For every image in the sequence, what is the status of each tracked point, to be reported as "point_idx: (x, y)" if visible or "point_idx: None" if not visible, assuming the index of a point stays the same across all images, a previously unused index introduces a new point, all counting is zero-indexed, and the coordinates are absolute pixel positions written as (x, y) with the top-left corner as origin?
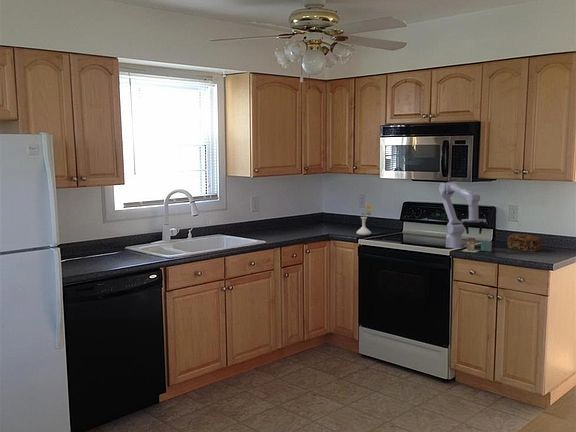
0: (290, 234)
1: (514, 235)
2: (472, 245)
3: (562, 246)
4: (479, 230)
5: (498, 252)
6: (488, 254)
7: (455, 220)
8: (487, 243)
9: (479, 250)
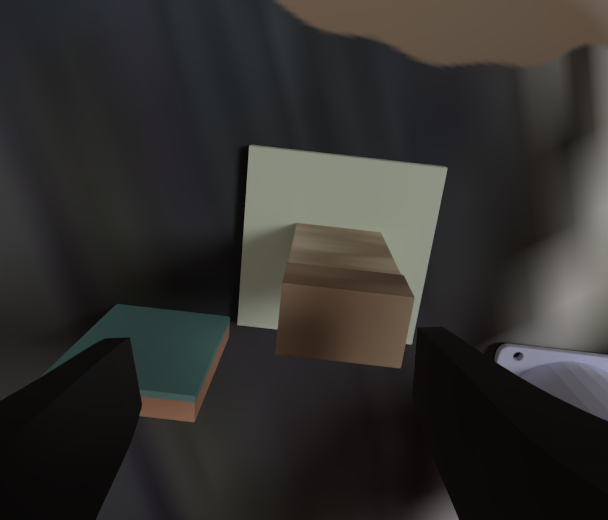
0: None
1: None
2: (305, 246)
3: None
4: (78, 373)
5: (42, 342)
6: (83, 148)
7: None
8: None
9: (240, 311)
